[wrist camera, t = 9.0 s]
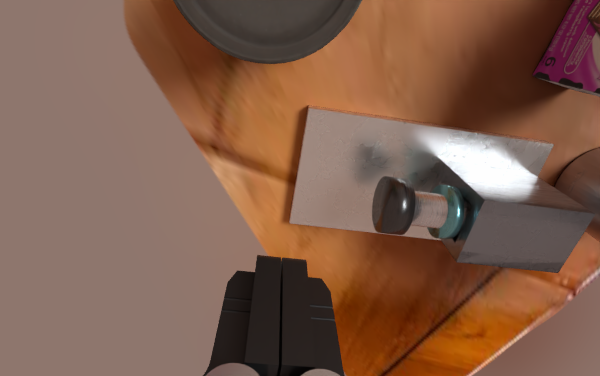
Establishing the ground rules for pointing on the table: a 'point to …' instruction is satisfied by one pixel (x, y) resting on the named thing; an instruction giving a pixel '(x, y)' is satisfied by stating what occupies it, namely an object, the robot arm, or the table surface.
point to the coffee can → (268, 26)
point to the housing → (438, 171)
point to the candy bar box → (575, 50)
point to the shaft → (418, 208)
